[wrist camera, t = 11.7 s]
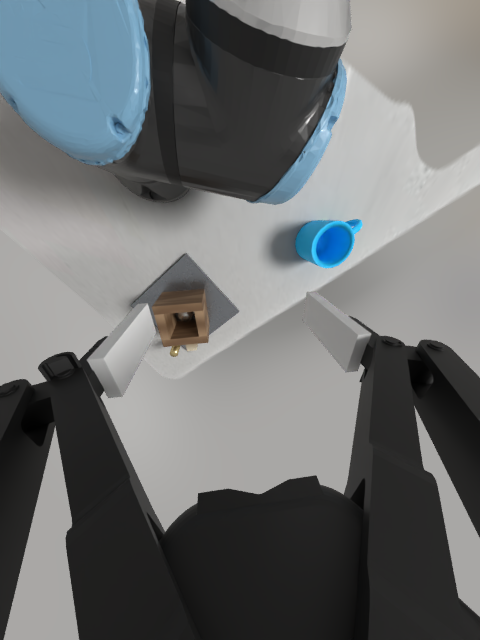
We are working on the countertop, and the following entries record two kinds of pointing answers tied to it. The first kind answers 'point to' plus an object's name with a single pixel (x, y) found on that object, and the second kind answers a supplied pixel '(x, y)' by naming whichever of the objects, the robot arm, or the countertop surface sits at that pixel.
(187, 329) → the wooden square tube
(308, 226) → the mug
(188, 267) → the flange base
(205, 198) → the countertop surface
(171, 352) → the dowel pin
